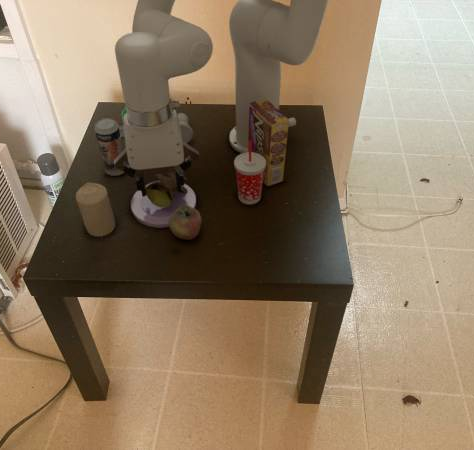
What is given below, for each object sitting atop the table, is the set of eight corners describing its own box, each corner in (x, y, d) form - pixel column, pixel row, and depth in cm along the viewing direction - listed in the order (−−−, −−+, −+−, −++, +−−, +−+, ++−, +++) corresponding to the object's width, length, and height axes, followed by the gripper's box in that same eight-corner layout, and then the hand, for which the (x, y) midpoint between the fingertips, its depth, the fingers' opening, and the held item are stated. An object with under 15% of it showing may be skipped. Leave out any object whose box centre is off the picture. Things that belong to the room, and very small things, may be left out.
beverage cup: (254, 211, 96) (256, 154, 86) (228, 199, 98) (227, 143, 88) (270, 193, 99) (273, 137, 89) (244, 183, 102) (244, 127, 92)
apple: (167, 251, 89) (164, 228, 84) (173, 220, 94) (169, 197, 90) (200, 251, 89) (198, 229, 84) (203, 220, 94) (202, 198, 90)
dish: (181, 176, 103) (180, 171, 103) (207, 213, 95) (206, 209, 95) (122, 195, 99) (121, 191, 98) (144, 236, 91) (143, 232, 90)
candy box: (284, 181, 102) (290, 119, 91) (267, 187, 101) (270, 125, 90) (264, 158, 108) (266, 97, 97) (247, 163, 106) (247, 102, 95)
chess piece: (187, 120, 107) (187, 104, 115) (165, 128, 108) (166, 112, 115) (196, 140, 111) (196, 123, 118) (175, 148, 111) (175, 131, 119)
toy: (171, 211, 92) (197, 192, 100) (169, 186, 90) (195, 168, 98) (142, 205, 94) (169, 187, 103) (139, 181, 92) (167, 164, 100)
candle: (84, 220, 94) (71, 181, 87) (113, 213, 96) (102, 174, 88) (88, 240, 91) (75, 201, 84) (117, 232, 92) (107, 193, 85)
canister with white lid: (100, 173, 104) (88, 126, 96) (114, 160, 107) (103, 114, 99) (118, 179, 103) (107, 132, 94) (132, 167, 106) (122, 120, 97)
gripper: (197, 93, 85) (203, 172, 98) (97, 103, 83) (116, 182, 96) (202, 116, 80) (208, 197, 93) (96, 127, 78) (116, 208, 91)
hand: (161, 189), depth 94 cm, fingers closed on toy, 6 cm apart
